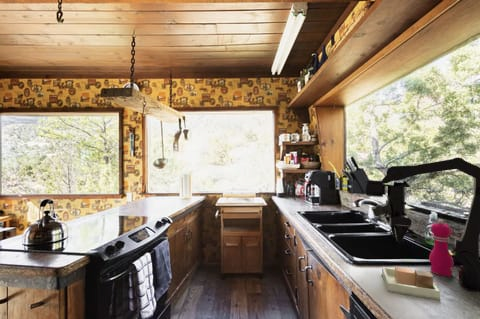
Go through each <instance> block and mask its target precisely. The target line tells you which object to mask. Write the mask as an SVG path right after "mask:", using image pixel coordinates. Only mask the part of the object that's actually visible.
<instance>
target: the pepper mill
mask: <svg viewBox="0 0 480 319" xmlns="http://www.w3.org/2000/svg"><path fill="white" fill-rule="evenodd" d="M430 232H431V233H432V234H433V235H432V240H433V248H432V250H431V252H430V253H429V257H428V260H429V262H430V264H431V265H430V271H431V272H432V273H434V274H435V275H440V276H445V277H446V276H447V277H451V276H453V269H452V267H453V266H454V264H455V263H454V257H452V254H451V253H450V251H449V242H450V237H449V236H450V235H451V234H452V230H451V227H450V226H449V225H447V224H446V223H444V219H442V218H441V219H440V218H439V219H437V222H435V223H433V224H431V226H430Z"/></svg>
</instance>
